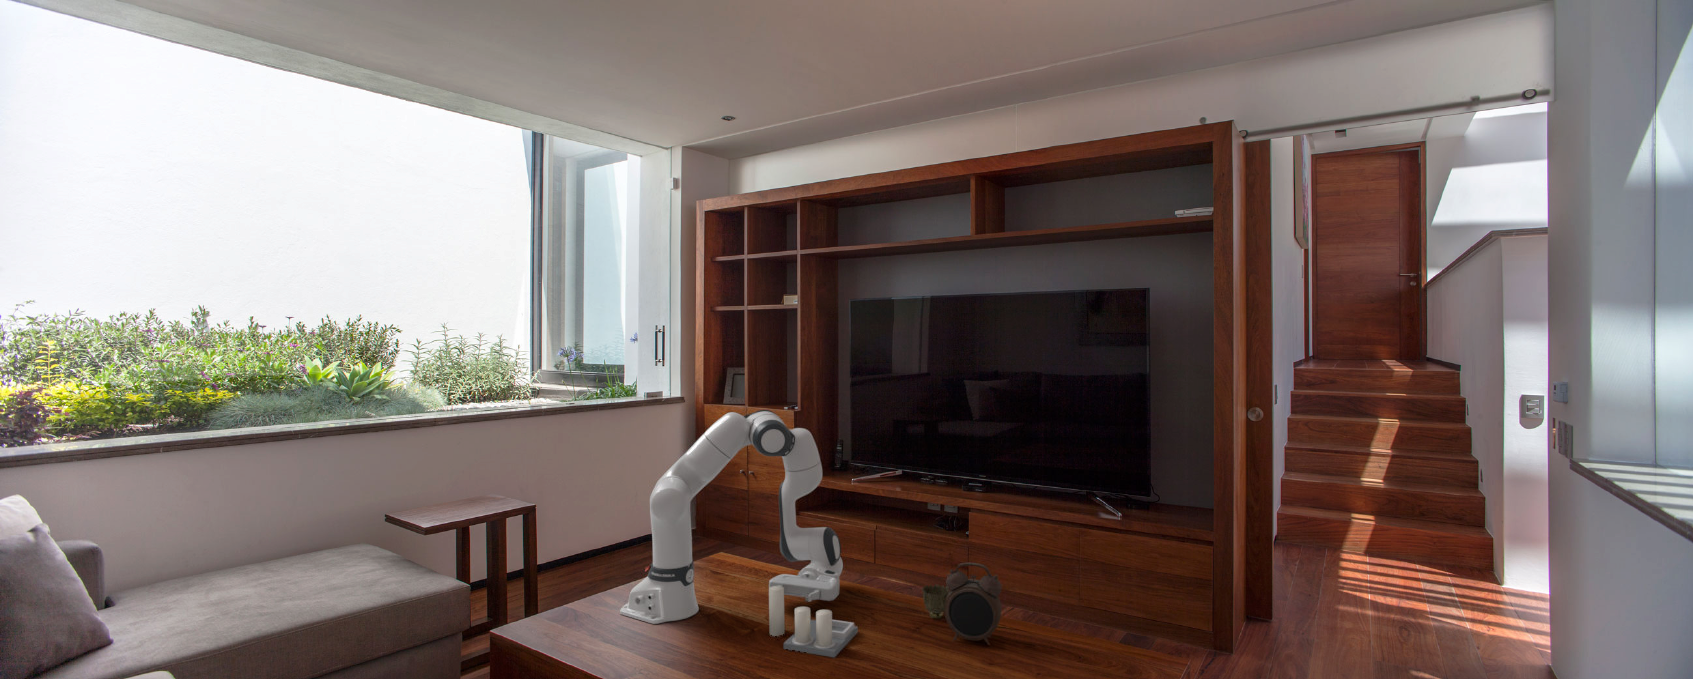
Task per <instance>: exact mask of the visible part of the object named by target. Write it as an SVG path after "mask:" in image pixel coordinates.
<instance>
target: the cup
mask: <svg viewBox="0 0 1693 679" xmlns="http://www.w3.org/2000/svg"><path fill="white" fill-rule="evenodd" d="M949 592H950V590H949V589H948V587H947V586H946V587H945V585H942V586H941V585H940V584H934V585H933V584H930V585H927V584H926V585H924V586H923V587H922V595H923V603H924V607H925V610H927V611H928V612H929V616H930V618H931V619H935V620H936V619H937V620H938V619H939V620H940V619H941V618H943V615H944V607H945V602H946V598H947V596H948V594H949Z"/></svg>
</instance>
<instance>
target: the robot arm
mask: <svg viewBox="0 0 1693 679" xmlns="http://www.w3.org/2000/svg"><path fill="white" fill-rule="evenodd" d="M747 446H753V447H754V449H755V450H756V451H757V452H758V453H759V454H761V455H762V456H765V457H781V458H782V462H783V466H784V472H785V473H784V474H785V477H784V480H783V481H781V483H780V485H779V488H778V510H779V511H778V514H779V527H780V528H779V529H780V536H779V550H780V553H781V555H782V556H783V558H785V559H786V560H787V561H789V562H791V563H792V562H800V561H801V562H802V561H810V563H809V564H808V565H806V566H805V567H803V568H802V569H801V570H799V572H798V574H797V575H794V574H787V573H782V574H779V575H776V576H774V577H772V578H771V579H770V580H769V581H768V589H769V588H770V587H773V586H782V587H784V596H791V597H799V598H805V599H804V601H805V602H807V603H808V602H810V603H811V602H812V601H815V600H821V601H827V602H831V601H834V600H836V598H837V597H838V596H839V595H840V576H841V574H842V572H843V568H844V564H843V559H842V557H841V555H842V552H841V551H842V546H841V540H840V538H839V536H838V534H837V533H836V531H835V530H834V529H832V528H831V527H829V526H827V527H826V526H825V527H824V526H821V527H800V526H798V525H797V516H796V514H797V513H796V501H797V500H798V499H800V498H802V497H804V496H807V495H808V494H811V493H812V492H813V491H814V490H815V489H816V488H818V486H819V485H820V484H821V482H822V480H823V467H822V461H821V457H820V453H819V450H818V446H817V444H816V441H815V439H814V436H813V435H812V433H811V432H810V431H809V430H808V429H806V428H803V427H795V428H793V429H791V428H788V427H787V425H786V424H785V422H784V421H783V419H781V417H780V416H778V414H776V413H775V412H774V411H772V410H769V409H760V410H756V411H754V412H751V413H749V414H745V415H742V414H740V413H738V412H735V411H733V412H732V411H731V412H727V413H726V414H724V415H722V416H721V417H720V418H718V419H717V420H716V421H714V423H713V424H712V425H711V426H710V427H708V428H707V429H706V431H705V432H704V433H702V435H701V436H700V437H698V438H697V440H696V441H695V442H694V443H693V445H691V447H690V448H689V449H688V450H686V452H684V454H683V455H681V457H680V458H679V459H678V460H676V462H675V463H673V465H672V466H671V467H670V468H669V469H668V470H667V471H666V472H664V474H663V475H662V476H661V477H660V478H659V479H658V480H657V482H656V484H655V486H654V488H653V489H652V492H651V493H650V496H649V514H650V528H651V536H652V537H651V538H652V539H651V540H652V562H651V563H649V565H648V566H646V567H644V569H645V570H644V572H648V574H647V576H646V577H645V578H644V579H642V580H641V581H640V582H639V583H637V584H636V585H635V586H634V587H633V588H631V591H630V592H629V596H628V601H627V603H625V604H624V605H623V606H622V607H621V608H620V609H619V613H620V615H622V616H626V617H629V618H632V619H636V620H639V621H643V622H646V623H648V624H653V625H657V624H662V623H666V622H673V621H681V620H684V619H688V618H690V617H692V616H694V615H696V614H697V613H698V612H699V610H700V608H699V605H698V601H697V598H696V597H697V596H696V594H695V593H696V592H695V586H694V578H695V562H694V559H693V537H692V536H693V535H692V521H691V520H692V518H691V501H692V500H693V499H694V497H695V496H696V495H697V494H698V493H699V492H700V491H701V490H703V489H704V487H706V486H707V485H708V484H709V483H711V481H713V480H714V479H715V478H716V477H717V476H718V475H719V474H720V473H721V471H722V470H723V469H724V468H725V467H726V466H727V464H728V463H729V462H730V461H731V460H732V459H733V458H734V457H735V456H736V455H737V454H738V453H739V451H741V450H742V449H743V448H745V447H747Z"/></svg>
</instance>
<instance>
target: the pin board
mask: <svg viewBox="0 0 1693 679" xmlns="http://www.w3.org/2000/svg"><path fill="white" fill-rule="evenodd" d="M858 627H859V626H856V625H855V622H851V621H845V620H844V621H843V620H837V619H833V612H832V610H830V609H819V610H817V611H816V612H815V619H811V608H810V607H808V606H797V607H795V608H794V633H793V634H792V635H791V636H790V637H789V638H787V639H786V640H785V641H784V642H783V649H784V650H786V649H788V651H792V650H795V651H794V652H798V651H800V653H804V652H806V653H807V654H810V655H811V654H812V655H817V656H824V657H829V658H836V657H837V656H838V654H839V653H841V651H842V650H843V649H844V648H845V647H846V646H847V645H848V644H849V642H851V640H853V638H854V637H855V636H856V635H857V634H858V633H859V628H858ZM806 653H805V654H806Z"/></svg>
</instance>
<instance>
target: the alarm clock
mask: <svg viewBox="0 0 1693 679" xmlns="http://www.w3.org/2000/svg"><path fill="white" fill-rule="evenodd" d="M967 566H971V567H977V568H978V567H979V568H981V569H984V570H985V572H986V575H984V576H982V577H981V578H980V579H977V575H975V574H970V575H969V577H968V575H967V574H965V572H963V571H959V569H960V568H961V567H967ZM949 572H950V573H949V574H947V578H946V581H945V583H946V587H948V589H949V594H948V596H947V598H946V602H945V607H944V612H943V614H944V617H945V620H946V623H947V625H948V626H949V628H950V629H951V631H952V632H953V633H954V634H955V636H954V638H952V639H953V641H954V642H956V640H957V639H958V638H959V637H960V638H962V639H963V640H964V639H965V640H968V641H975V642H976V641H982V640H984V641H985V643H987V644H990V645H991V643H990V641H989V639H988V638H991V637H992V634H993V633H994V632H995V631H996V630H997V628H998V626H999V624H1000V621H1001V619H1002V603H1001V599H1000V597H999V596H1000V594H1001V592H1002V587H1003V586H1002V582H1000V580H999V578H998V575H997V574H995V575H992V572H991V571H990V570H989V568H988V567H987V566H986V565H984V564H981V563H978V562H977V563H976V562H963V563H959V564H958V565H957V566H956V568H955V570H954V569H952V568H951V569H950V570H949ZM987 644H986V645H987Z"/></svg>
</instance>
